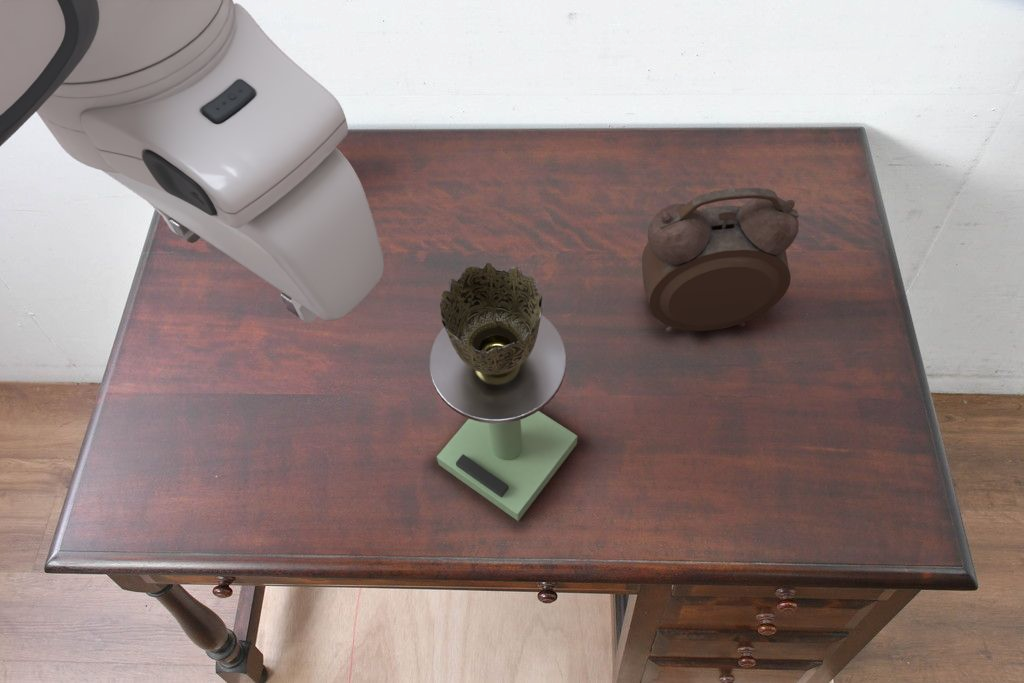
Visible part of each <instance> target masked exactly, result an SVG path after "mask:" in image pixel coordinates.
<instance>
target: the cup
mask: <svg viewBox="0 0 1024 683" xmlns="http://www.w3.org/2000/svg"><path fill="white" fill-rule="evenodd" d="M440 300H441V301H440V302H439V310H440V316H441V318H440V320H441V323H442V325H443V327H445V329H446V332H447V334H448V336H449V339H450V341H451V343H452V345H453V347H454V349H455V351H456V353H457V354H458V356H459V357H460V358H461V359H462V361H463V362H464V363H465V364H467V365H468V366H469V367H471V368H472V369H474V370H476V371H478V372H481V373H485V374H489V375H503V374H506V373H508V372H509V371H512V370H514V369H516V368H517V367H519V366H520V365H521V364H522V363H523V362H524V361H525V360H526V359H527V358H528V357H529V355H530V354H531V352H532V350H533V348H534V345H535V342H536V339H537V335H538V330H539V325H540V319H541V316H543V310H544V308H543V306H542V301H543V295H542V293H539V291H538V286H537V283H536V281H535V278H534V277H533V276H531V275H530V274H523V273H522V270H521V269H520V268H519V267H518V266H517V265H513V266H511V267H510V268H509V270H508V271H507V270H504V269H500V270H499V269H496V268H495V264H494V263H491V262H486V263H484V265H483V266H482V267H480V266H467V267H466V268H464V270H463V271H462V272H461V275H460V276H459V278H451V279H450V280H449V290H444V291H442V293H441V296H440Z"/></svg>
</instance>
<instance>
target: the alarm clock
mask: <svg viewBox="0 0 1024 683" xmlns="http://www.w3.org/2000/svg"><path fill="white" fill-rule="evenodd" d="M745 199H750V200H748V201H747V202H746V203H744V204H743V205H742V206H739V205H738V206H737V205H720V206H711V207H706V208H701V207H702V206H705V205H709V204H714V203H717V202H722V201H723V202H724V201H731V200H745ZM795 205H796V202H795V201H794V200H793V199H787V200H786V201H785V199H783V198H781V197H779V196H778V195H777V193H776V192H775V191H774V190H772V189H768V188H761V187H740V188H738V187H737V188H728V189H720V190H714V191H709V192H706V193H702V194H699V195H697V196H695V197H693V198H691V200H690V201H689V202H688V203H686V204H685V203H674V204H670V205H667V206H665V207H663V208H662V209H660V210H659V211H658V212H657V213H655V215H654V217H652V219H651V221H650V222H649V225H648V228H647V240H648V242H647V243H646V245H645V246H644V249H643V251H642V255H641V270H642V271H641V272H642V282H643V283H642V284H643V289H644V293H645V297H646V298H647V301H648V305H649V309H650V312H651V313H652V315H653V316H654V317H655V319H657V321H659V322H660V323H662V324H664V325H666V326H667V327H666V328H665V331H666V332H667V333H672V332H673V329H676V330H682V331H690V332H691V331H692V332H702V331H703V332H705V331H706V332H708V331H715V330H721V329H726V328H730V327H735V326H737V325H739V326H740V327H742V328H743V327H744V326H746V322H748V321H750V320H753V319H755V318H757V317H759V316H761V315H762V314H764V313H766V312H767V311H769V310H770V309H772V308H773V307H774V306H775V305H777V304H778V303H779V301H781V300H782V298H783V297H784V296H785V294H787V291H788V289H789V287H790V284H791V278H792V277H791V272H790V268H789V261H788V256H787V252H786V251H787V250H788V249H789V248H790V247H791V245H792V244H793V243H794V241H795V239H796V238H797V236H798V233H799V230H800V228H799V226H800V225H799V224H800V223H799V219H798V218H800V215H799V212H798V210H797V209H794V208H795ZM699 208H701V209H699Z"/></svg>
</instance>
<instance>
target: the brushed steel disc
mask: <svg viewBox="0 0 1024 683" xmlns="http://www.w3.org/2000/svg"><path fill="white" fill-rule="evenodd" d="M431 347H432V348H431V350H430V355H429V373H430V377H431V378H430V379H431V381H432V384H433V386H434V389H435V391H436V393H437V394H438V396H439V397H440V399H441V400H442V401H443V402H444V404H446V406H448V407H449V408H450V409H451V410H452V411H454V412H455V413H457V414H459V415H460V416H462V417H464V418H467V419H471V420H475V421H479V422H484V423H495V424H499V423H509V422H514V421H518V420H521V419H524V418H526V417H528V416H530V415H533V414H534V413H536V412H537V411H540V410H542V409H543V408H544V407H546V406H547V405H548V404H550V402H551V401H552V399H554V397H555V396H556V395H557V394H558V392H559V390H560V388H561V386H562V384H563V382H564V378H565V375H566V370H567V353H566V347H565V344H564V341H563V338H562V337H561V334H560V333H559V331H558V330H557V328H556V327H555V326H554V325H553V324H552V322H551V321H550V320H549V319H548V318H546V317H545V316H544V315H542V316H541V319H540V325H539V330H538V335H537V339H536V342H535V345H534V348H533V350H532V352H531V354H530V355H529V357H528V358H527V359H526V360H525V361H524V362H523V363H522V364H521V365H520V366H519V367H517V368H516V369H514V370H512V371H509V372H508V373H506V374H503V375H489V374H485V373H481V372H478V371H476V370H474V369H472V368H471V367H469V366H468V365H467V364H465V363H464V362H463V361H462V359H461V358H460V357H459V356H458V354H457V353H456V351H455V349H454V347H453V345H452V343H451V341H450V339H449V336H448V334H447V332H446V329H445V327H444V326H443V327H442V328H441V330H440V331H439V333H438V334H437V336H436V338H435V340H434V342H433V344H432V346H431Z"/></svg>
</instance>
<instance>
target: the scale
mask: <svg viewBox="0 0 1024 683" xmlns="http://www.w3.org/2000/svg"><path fill="white" fill-rule="evenodd" d="M577 445H578V435H576V433H574V432H572V431H571V430H569V429H568V428H566V427H564V426H563V425H561V424H560V423H559V422H557V421H555V420H553V419H552V418H551V417H549V416H547V414H544V413H543V412H542V411H540V410H539V411H537V412H536V413H534V414H533V415H530V416H528V417H526V418H524V419H521V420H518V421H514V422H509V423H499V424H495V423H484V422H479V421H475V420H471V419H469V418H467V420H466V421H465V422H464V423H463V425H461V427H460V428H459V430H458V431H457V432H456V433H455V434H454V435H453V436H452V438H450V440H449V441H448V442H447V443H446V445H445V446H444V447H443V448H442V450H441V451H440V452H439V453H438V454H437V455H436V461H437V463H438V465H439V466H440V468H443V469H444V470H445V471H447V472H448V473H449V474H451V475H452V476H454V478H455V477H456V478H457V479H458V480H459V481H460V482H462V483H463V484H465V485H466V486H468V487H469V488H471V489H472V490H474V491H475V492H477V493H478V494H479V495H481V497H484V498H485V499H486V500H488V501H489V502H490V503H492V504H493V505H495V506H496V507H497V508H498V509H500V510H502V511H503V512H504V513H506V514H507V515H508V516H510V517H511V518H513V519H514V520H516V521H517V522H519V521H520V520H521V519H522V517H523V516H524V515H525V513H526V512H527V511H528V509H529V508H530V507H531V505H532V504H533V502H534V501H535V500H536V499H537V498H538V496H539V495H540V494H541V492H542V491H543V490H544V488H545V487H546V486H547V484H548V483H549V482H550V480H551V479H552V477H553V476H554V475H555V474H556V472H557V471H558V470H559V469H560V467H561V466H562V464H563V463H564V462H565V461H566V459H567V458H568V457H569V456H570V454H571V452H572V451H573V450H574V448H575V447H576V446H577Z"/></svg>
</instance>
